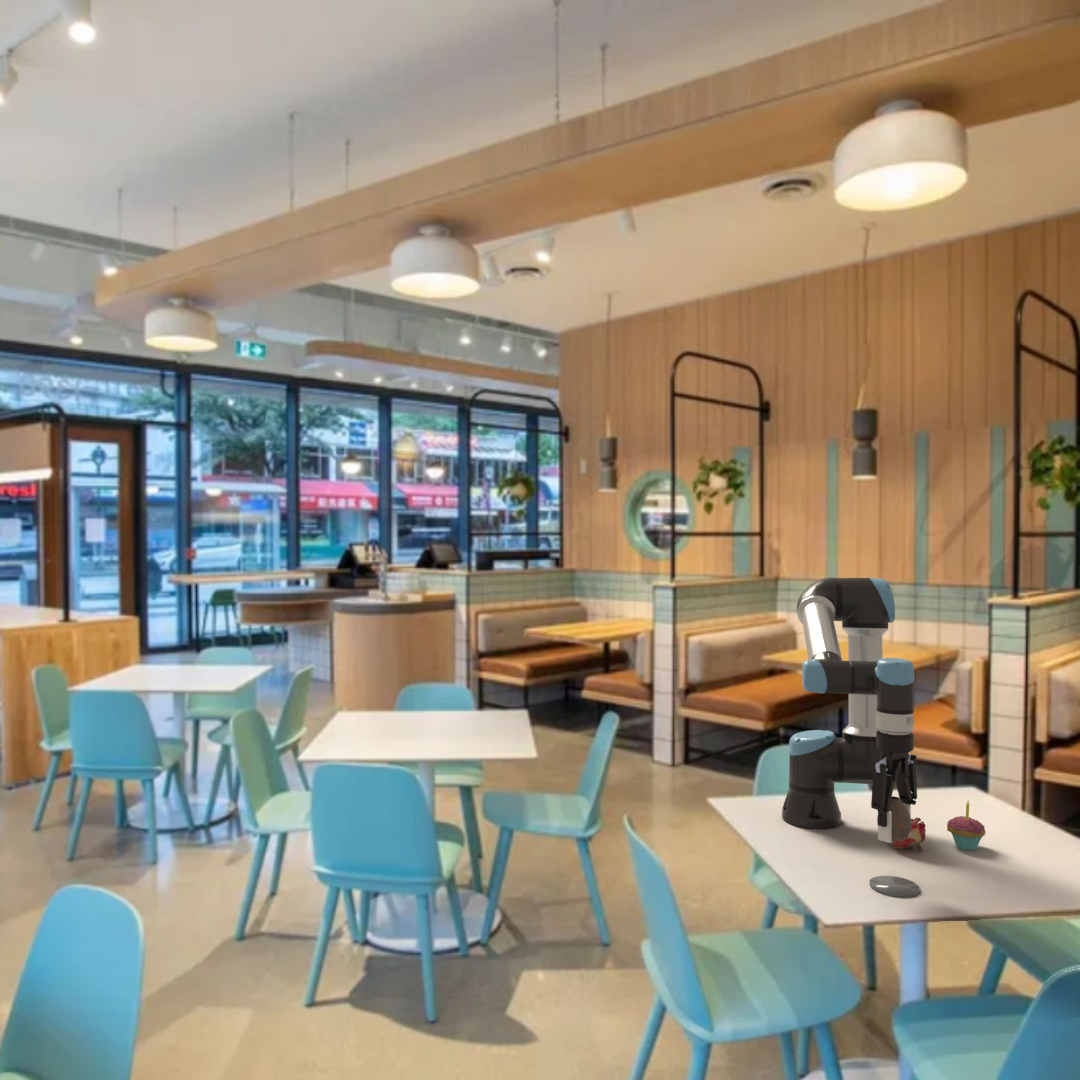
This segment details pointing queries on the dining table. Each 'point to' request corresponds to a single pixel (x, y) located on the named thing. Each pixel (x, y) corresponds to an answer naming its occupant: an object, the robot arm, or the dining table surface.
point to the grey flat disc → (894, 886)
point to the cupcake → (966, 831)
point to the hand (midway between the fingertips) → (894, 836)
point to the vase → (899, 820)
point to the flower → (913, 835)
